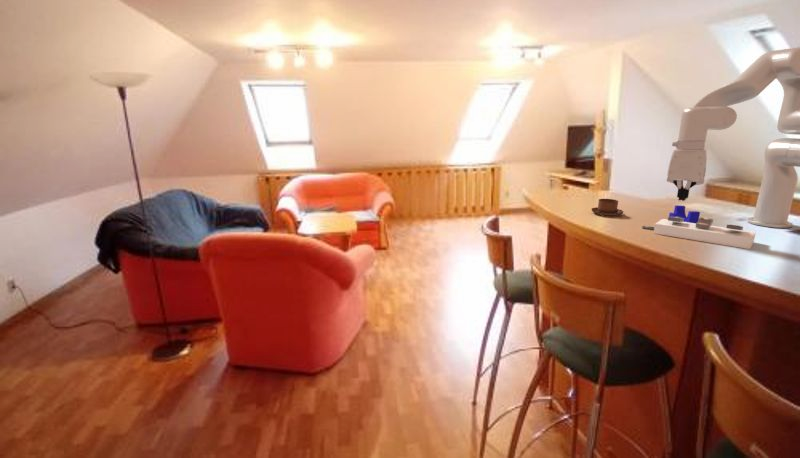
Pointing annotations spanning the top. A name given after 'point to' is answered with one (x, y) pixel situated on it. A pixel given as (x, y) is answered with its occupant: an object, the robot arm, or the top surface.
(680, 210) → the cable clip
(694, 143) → the robot arm
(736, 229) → the grey rectangular block
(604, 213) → the cup and saucer
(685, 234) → the power strip
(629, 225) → the top surface
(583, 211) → the top surface
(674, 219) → the grey flat block
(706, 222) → the block
